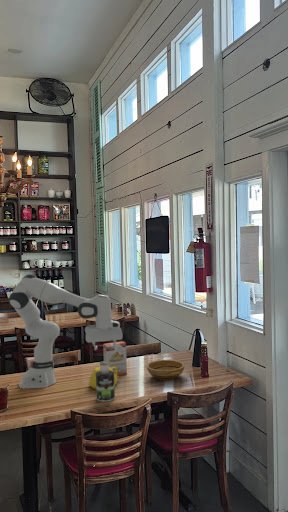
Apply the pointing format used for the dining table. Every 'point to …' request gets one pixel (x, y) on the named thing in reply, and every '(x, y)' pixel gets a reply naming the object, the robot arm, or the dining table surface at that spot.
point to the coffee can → (105, 387)
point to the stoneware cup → (104, 367)
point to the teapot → (93, 375)
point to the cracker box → (116, 357)
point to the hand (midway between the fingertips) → (104, 348)
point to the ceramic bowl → (165, 369)
